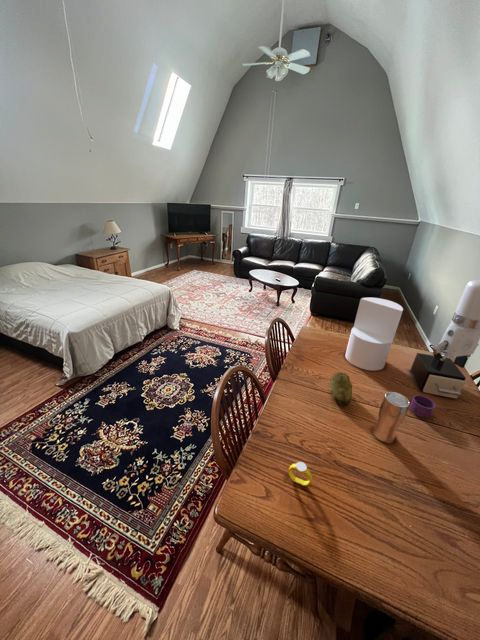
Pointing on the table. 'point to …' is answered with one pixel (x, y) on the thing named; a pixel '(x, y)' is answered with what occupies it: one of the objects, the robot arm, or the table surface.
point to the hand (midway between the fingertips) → (447, 367)
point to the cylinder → (373, 333)
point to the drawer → (443, 386)
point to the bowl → (422, 406)
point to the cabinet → (432, 369)
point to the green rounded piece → (341, 388)
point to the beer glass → (391, 416)
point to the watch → (300, 468)
